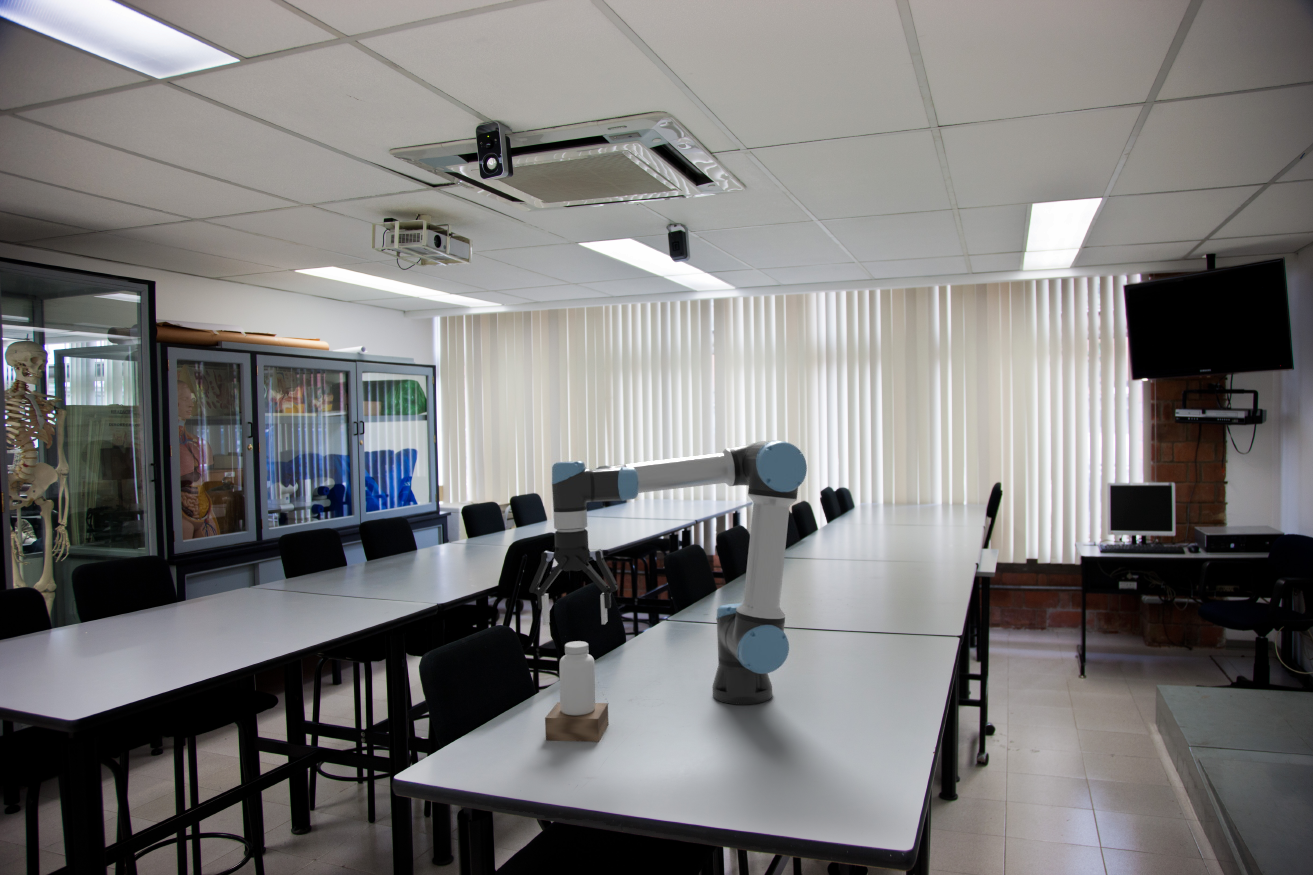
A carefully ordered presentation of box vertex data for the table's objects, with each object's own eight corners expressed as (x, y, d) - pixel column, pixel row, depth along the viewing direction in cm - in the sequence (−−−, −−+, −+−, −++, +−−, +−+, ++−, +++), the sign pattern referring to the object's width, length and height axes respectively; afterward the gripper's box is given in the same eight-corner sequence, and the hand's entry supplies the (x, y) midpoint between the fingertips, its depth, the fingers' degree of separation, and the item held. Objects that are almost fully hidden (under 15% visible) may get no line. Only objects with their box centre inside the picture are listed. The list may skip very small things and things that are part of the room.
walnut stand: (608, 724, 176) (607, 702, 176) (598, 741, 167) (598, 718, 167) (558, 723, 178) (557, 702, 178) (545, 740, 168) (545, 717, 168)
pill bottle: (589, 717, 168) (587, 649, 168) (555, 715, 169) (553, 648, 169) (600, 704, 175) (598, 639, 175) (567, 703, 177) (565, 638, 177)
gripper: (628, 525, 174) (632, 618, 174) (523, 528, 178) (527, 619, 178) (621, 530, 167) (626, 626, 167) (512, 533, 171) (516, 627, 171)
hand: (575, 623), depth 173 cm, fingers open, 13 cm apart
